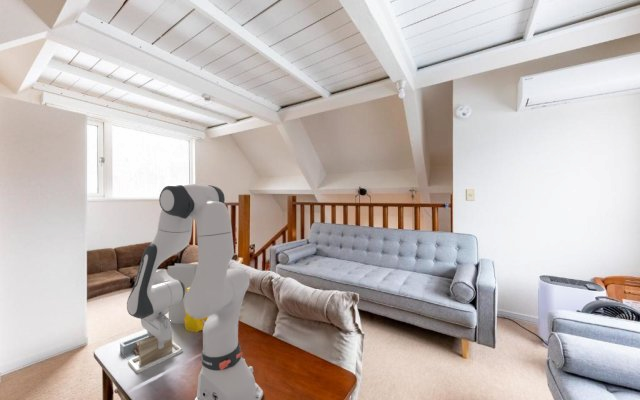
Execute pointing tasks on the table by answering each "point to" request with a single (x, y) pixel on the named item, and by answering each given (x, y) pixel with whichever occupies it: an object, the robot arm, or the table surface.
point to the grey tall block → (186, 276)
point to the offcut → (136, 352)
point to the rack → (131, 346)
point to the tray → (137, 370)
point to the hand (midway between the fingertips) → (156, 344)
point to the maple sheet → (153, 349)
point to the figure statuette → (193, 322)
